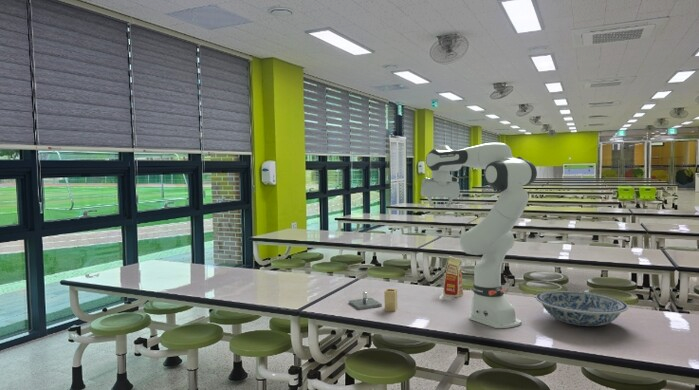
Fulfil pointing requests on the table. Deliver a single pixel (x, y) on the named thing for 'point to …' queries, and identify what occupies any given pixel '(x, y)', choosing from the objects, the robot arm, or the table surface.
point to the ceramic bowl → (581, 307)
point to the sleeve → (390, 299)
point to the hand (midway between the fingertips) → (440, 206)
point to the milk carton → (453, 278)
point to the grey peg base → (365, 302)
